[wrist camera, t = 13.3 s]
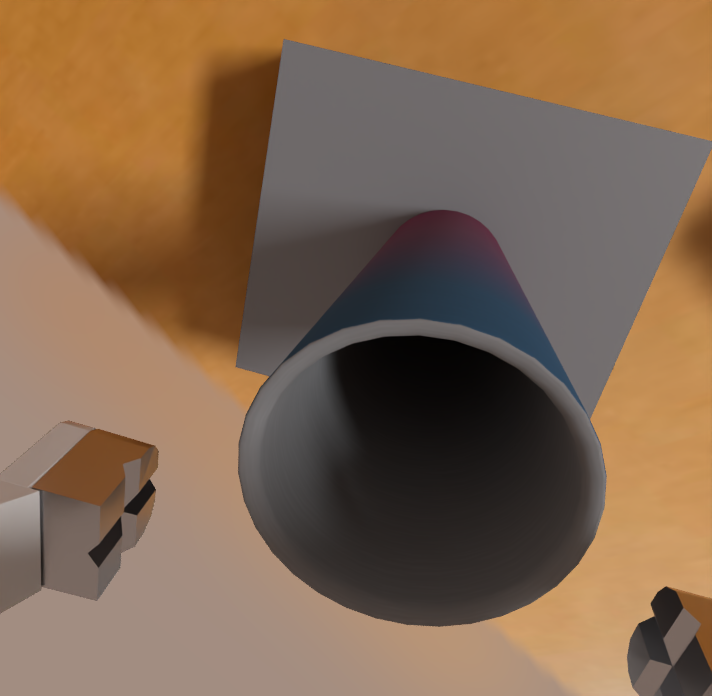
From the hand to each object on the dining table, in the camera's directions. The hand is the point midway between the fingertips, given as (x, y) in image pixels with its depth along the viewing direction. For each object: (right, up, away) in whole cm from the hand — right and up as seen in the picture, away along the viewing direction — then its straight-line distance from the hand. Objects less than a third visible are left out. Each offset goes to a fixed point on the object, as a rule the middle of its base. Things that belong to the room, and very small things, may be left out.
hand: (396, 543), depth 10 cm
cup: (+3, +6, +15) cm, 17 cm away
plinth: (+4, +8, +20) cm, 22 cm away
